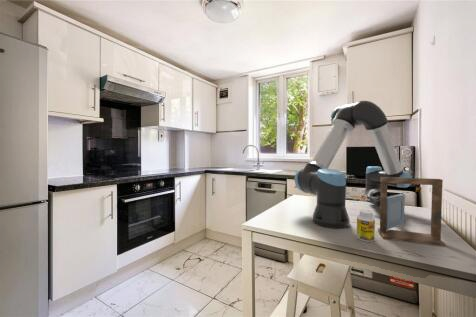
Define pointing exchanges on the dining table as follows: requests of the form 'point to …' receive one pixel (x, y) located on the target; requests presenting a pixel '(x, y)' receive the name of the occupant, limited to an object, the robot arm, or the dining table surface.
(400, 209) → the panel
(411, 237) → the gate frame
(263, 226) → the dining table surface
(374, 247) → the dining table surface
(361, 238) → the supplement bottle
